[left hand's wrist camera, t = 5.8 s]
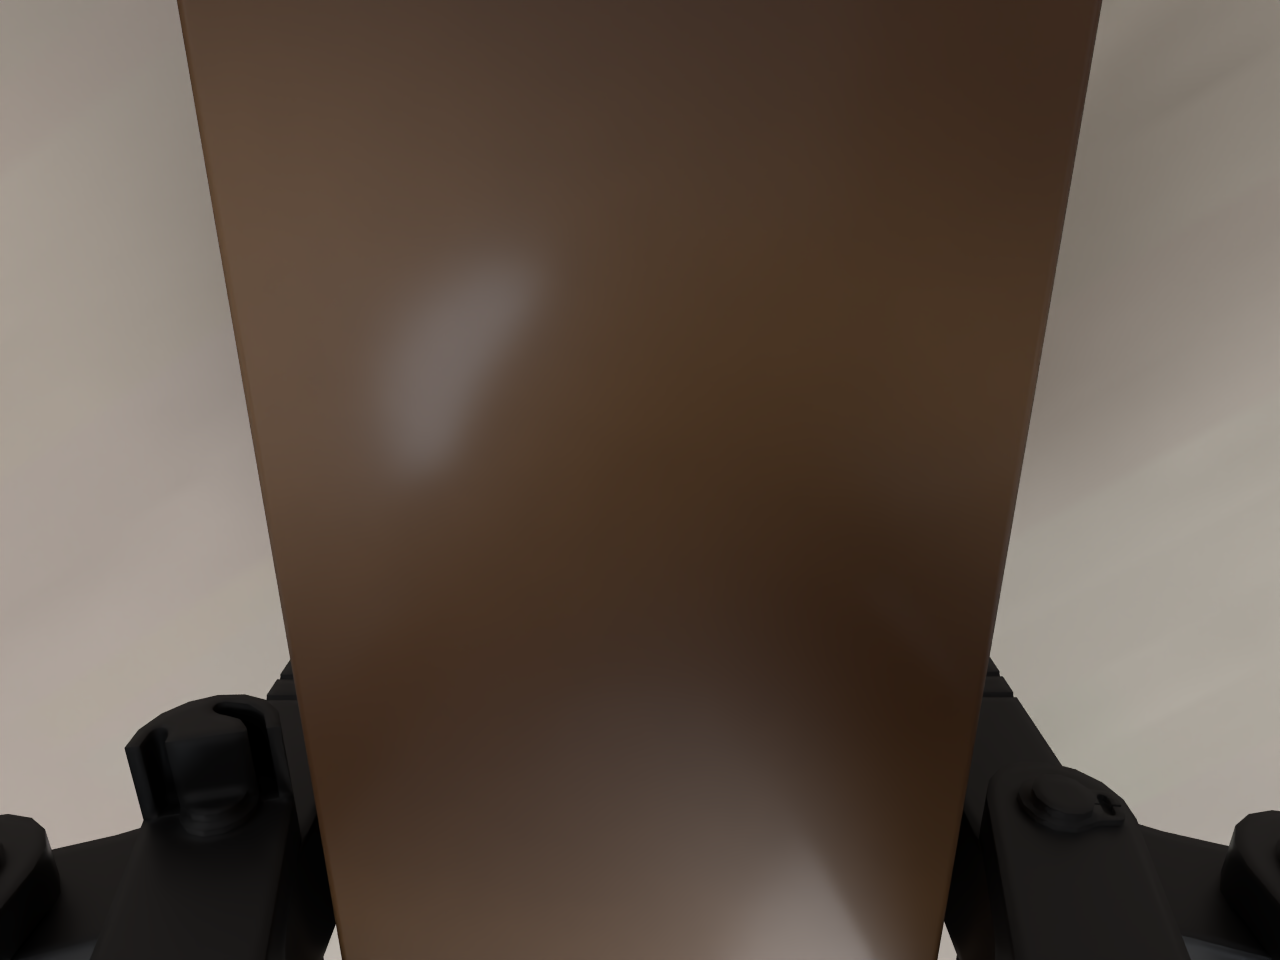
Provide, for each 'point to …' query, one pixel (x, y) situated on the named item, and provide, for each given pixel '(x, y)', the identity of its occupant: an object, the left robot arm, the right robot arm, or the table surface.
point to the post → (639, 445)
